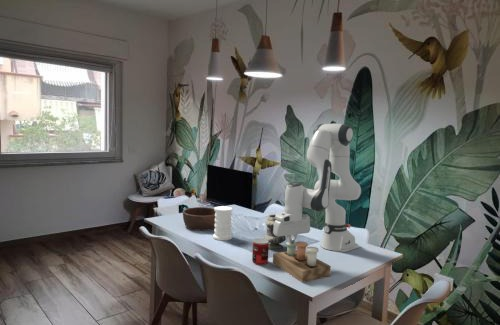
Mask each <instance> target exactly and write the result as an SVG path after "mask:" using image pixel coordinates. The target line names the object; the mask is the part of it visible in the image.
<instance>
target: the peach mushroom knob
mask: <svg viewBox="0 0 500 325" xmlns="http://www.w3.org/2000/svg"><path fill="white" fill-rule="evenodd" d="M295 242H296V247H297V249H296V250H297V259H298V260H305V253H307V251H306V248H307V247H309V246H308V243H307V242H306V241H301V240H300V241H295Z"/></svg>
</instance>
